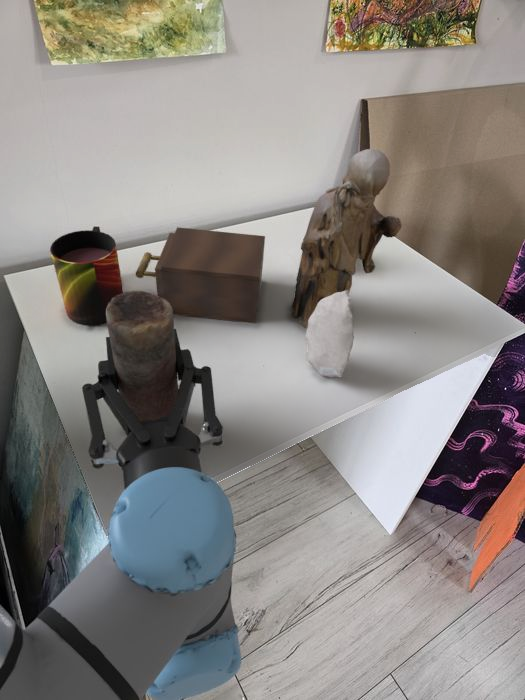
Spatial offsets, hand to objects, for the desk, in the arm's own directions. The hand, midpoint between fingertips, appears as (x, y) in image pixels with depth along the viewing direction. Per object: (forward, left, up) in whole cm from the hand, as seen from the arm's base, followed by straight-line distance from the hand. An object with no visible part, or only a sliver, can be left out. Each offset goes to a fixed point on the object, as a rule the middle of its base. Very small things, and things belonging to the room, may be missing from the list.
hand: (142, 340), depth 62 cm
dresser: (+6, +25, -11) cm, 28 cm away
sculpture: (+26, +23, -11) cm, 37 cm away
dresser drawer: (+2, +25, -10) cm, 27 cm away
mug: (-15, +21, -11) cm, 28 cm away
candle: (+2, -5, -11) cm, 12 cm away
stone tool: (+25, +9, -11) cm, 29 cm away
